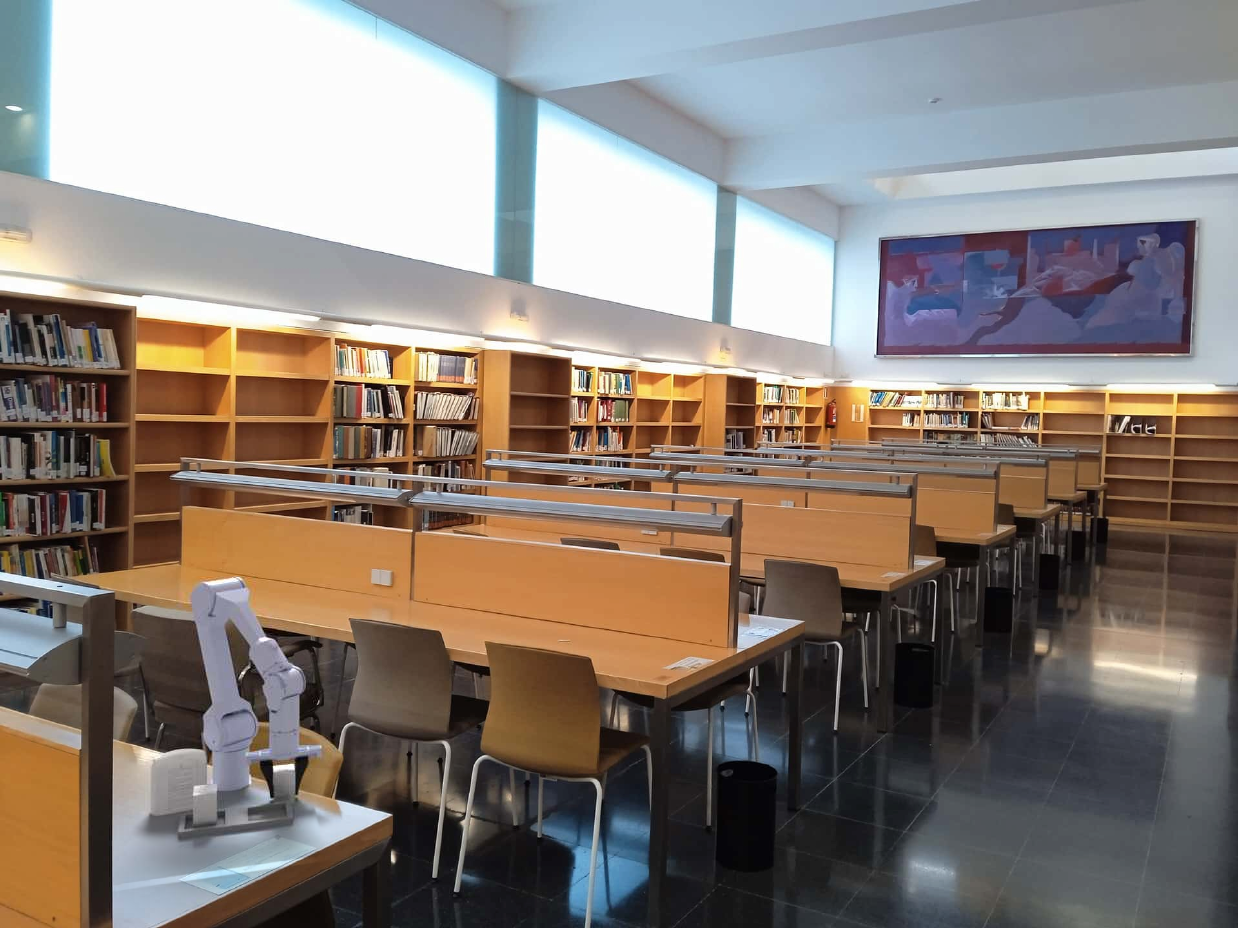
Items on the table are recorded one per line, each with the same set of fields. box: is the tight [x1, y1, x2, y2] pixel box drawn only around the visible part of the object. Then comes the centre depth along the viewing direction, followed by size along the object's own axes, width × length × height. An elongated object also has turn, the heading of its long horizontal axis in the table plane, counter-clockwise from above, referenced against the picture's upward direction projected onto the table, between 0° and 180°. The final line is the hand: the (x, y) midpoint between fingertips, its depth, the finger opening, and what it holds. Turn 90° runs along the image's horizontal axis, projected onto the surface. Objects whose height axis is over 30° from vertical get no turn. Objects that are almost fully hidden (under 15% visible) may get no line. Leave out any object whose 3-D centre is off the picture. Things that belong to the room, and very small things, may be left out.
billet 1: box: [192, 783, 218, 828], centre depth 183 cm, size 5×4×7 cm
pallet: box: [177, 801, 294, 840], centre depth 185 cm, size 9×20×2 cm, turn 112°
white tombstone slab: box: [149, 748, 208, 817], centre depth 191 cm, size 10×4×12 cm, turn 123°
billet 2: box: [272, 763, 296, 804], centre depth 197 cm, size 5×4×7 cm
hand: (283, 794), depth 197 cm, fingers closed on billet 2, 4 cm apart
